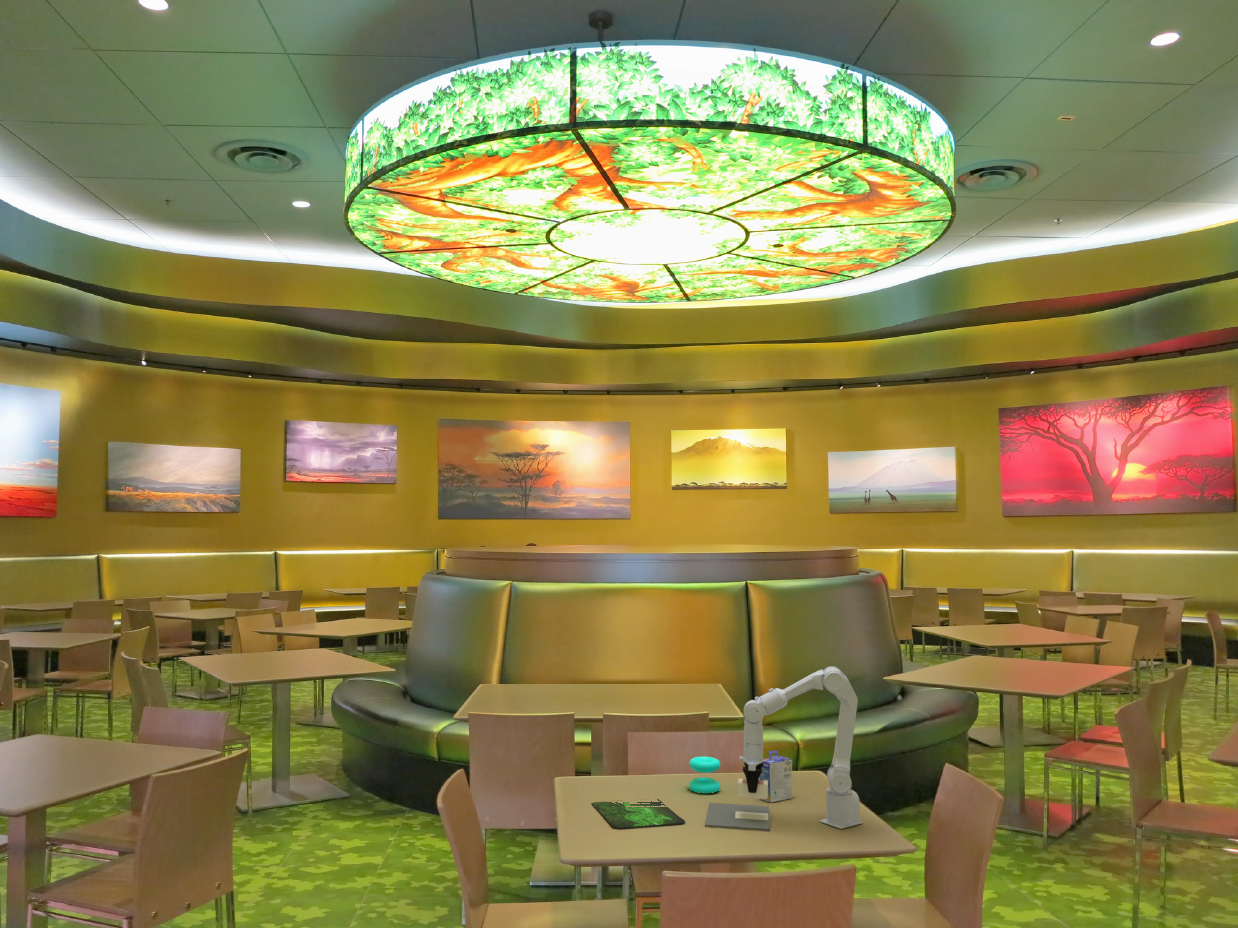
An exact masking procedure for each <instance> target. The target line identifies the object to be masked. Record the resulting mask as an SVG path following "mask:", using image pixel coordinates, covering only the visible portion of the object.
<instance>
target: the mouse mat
mask: <svg viewBox="0 0 1238 928" xmlns="http://www.w3.org/2000/svg"><path fill="white" fill-rule="evenodd" d="M656 799H657V800H658V801H660V802H652V801H651V802H637V803H640V804H628V803H629V802H623V804H621V803H618V802H615V803H616V804H615V803H612V802H607V801H595V802H592V803H591V804H590V805H591V807H593V809H595V811H596V812H597V813H598V814H599V815H600V816H601V818H603V819H604V821H606V823H608V824H609V825H610V827H611V828H613V829H615V830H629V829H640V828H641V829H642V828H655V827H666V826H676V825H677V826H678V825H680V826H681V825H683V824H685V823H686V820H685V819H684V818H682V817H681V816H679V815H678V814H677V813H675V812H674V811H673V810H672V809H670V808H669V807H668V806H667V807H651V806H661V805H664V806H666V805H665V804H664V803H663V801H661V800H660V799H659V798H656ZM641 803H650V804H641ZM661 803H663V804H661ZM626 806H631V807H626ZM632 806H645V807H632ZM646 806H650V807H646Z"/></svg>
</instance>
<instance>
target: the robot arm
mask: <svg viewBox="0 0 1238 928" xmlns="http://www.w3.org/2000/svg"><path fill="white" fill-rule="evenodd" d="M823 687H825V689H826V690H827V691H829V692H830V693H831V694H833V695H835V697H836V698H837V700H838V701H839V702H840V706H839V711H838V712H839V713H838V719H837V720H838V721H837V730H836V737H835V744H834V750H833V757H832V760H831V761H832V762H831V764H830V767H829V768H828V769H827V773H826V778H827V780H828V784H829V785H828V787H827V788H826V800H825V801H826V818H822V819H820V820H819V822H820V823H821V824H825V825H828V826H831V827H834V828H837V829H841V830H842V829H846V828H850V827H854V826H857V825H861V824H863V821H861V820H860V819H861V818H860V817H861V816H860V815H861V813H860V812H861V811H860V810H861V808H860V807H861V805H860V804H861V803H860V797H859V795H858V793H857V792H856V791H854V790H853V789H852V784H853V782H852V779H851V776H850V774H851V756H852V749H853V740H854V732H855V724H856V718H857V710H858V703H859V702H858V697H857V695H856V692H855V690H854V688H853V686H852V685H851V682H850V680H849V679H848V677H847V675H846V674H845V673H844V672H843V671H842V670H841V669H839V667H837V666H827V667H825V668H824V669H819V670H817V671H815V672H813V673H811V674H808V675H807V676H806V677H803V678H802V679H800V680H797V682H795V683H793V684H790V685H789V686H787V687H786V688H783V689H781V688H779V687H776V688H774V687H771V688H769V689H768V692H767V693H764V694H763V695H761V696H757V695H756V696H755V697H754V699H751V700H749V701H747V702H746V703H745V704H744V707H743V716H744V720H743V724H744V725H743V756H739V758H738V759H739V761H743V764H744V766H742V772H743V774H744V776H745V779H746V780H747V786H748V791H749V793H756V791H757V786H758V780H760V774H761V772H762V769H761V768H762V766H763V761H764V759H765V758H764V726H763V720H764V717H765V716H769V715H771V714H773V713H775V712H777V711H779V710H781V709H783V708H785V707H787V705H788V701H789V700H791V699H793V698H795V697H798V696H800V695H802V694H804V693H806V692H809V691H811V690H818V691H820V690H821V691H824V688H823Z"/></svg>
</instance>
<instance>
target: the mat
mask: <svg viewBox="0 0 1238 928" xmlns="http://www.w3.org/2000/svg"><path fill="white" fill-rule="evenodd" d="M769 807H770V806H768V805H754V804H737V803H721V802H709V803H708V807H707V813H706V818H705V822H704V827H705V828H715V827H720V829H730V830H731V829H732V830H733V829H735V830H748V831H749V830H750V831H763V832H769V831H770V808H769Z"/></svg>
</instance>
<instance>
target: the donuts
mask: <svg viewBox="0 0 1238 928" xmlns="http://www.w3.org/2000/svg"><path fill="white" fill-rule="evenodd" d="M689 767H690V768H691V769H692V770H693V771H694V772H698V773H706V774H708V773H714V772H717V771H718V770H720V768H721V762H720V760H719V759H718V758H715V757H712V756H695V757H693V758H691V759H690V760H689ZM688 787H689V789H690V791H692V792H693V791H694V792H693V793H695V792H699V793H712V792H716V793H718V792H719V791H720V790H721V784H720V782H719V781H717V780H716V779H714V778H711V777H704V776H703V777H696V778H694V779H692V780H690V782H689V784H688ZM717 791H718V792H717ZM699 793H698V794H699Z"/></svg>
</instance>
